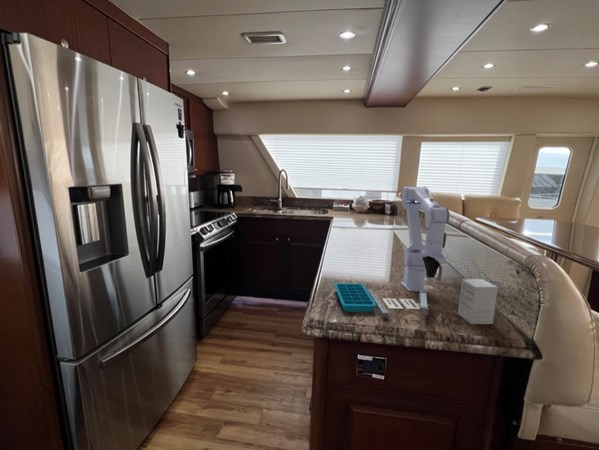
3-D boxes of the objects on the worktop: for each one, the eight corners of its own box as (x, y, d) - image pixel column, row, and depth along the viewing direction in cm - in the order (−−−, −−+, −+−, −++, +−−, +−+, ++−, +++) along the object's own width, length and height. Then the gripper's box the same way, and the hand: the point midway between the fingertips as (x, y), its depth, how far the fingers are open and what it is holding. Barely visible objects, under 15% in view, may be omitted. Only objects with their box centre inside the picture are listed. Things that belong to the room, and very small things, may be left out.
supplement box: (477, 313, 96) (482, 278, 94) (493, 324, 89) (499, 287, 87) (456, 313, 96) (461, 278, 94) (470, 324, 89) (475, 286, 87)
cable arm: (418, 301, 104) (419, 289, 103) (426, 302, 103) (427, 290, 102) (418, 321, 89) (419, 307, 88) (427, 322, 88) (428, 309, 87)
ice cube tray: (342, 313, 94) (342, 305, 94) (333, 290, 114) (333, 283, 114) (376, 314, 95) (377, 305, 94) (361, 290, 115) (362, 283, 114)
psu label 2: (399, 299, 106) (399, 298, 106) (412, 299, 106) (412, 298, 106) (407, 309, 98) (407, 308, 98) (421, 309, 98) (421, 308, 98)
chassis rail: (366, 293, 111) (367, 288, 110) (371, 293, 111) (372, 288, 110) (382, 318, 91) (382, 312, 91) (388, 318, 91) (388, 312, 91)
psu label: (382, 299, 106) (382, 298, 106) (395, 299, 106) (395, 298, 106) (388, 308, 98) (389, 307, 98) (403, 309, 98) (403, 308, 98)
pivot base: (412, 301, 105) (412, 300, 104) (425, 301, 105) (425, 301, 105) (418, 307, 100) (418, 306, 100) (432, 307, 100) (432, 307, 100)
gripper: (414, 236, 107) (411, 270, 110) (433, 245, 93) (428, 284, 95) (432, 237, 108) (429, 270, 110) (454, 245, 93) (449, 284, 95)
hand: (430, 277), depth 102 cm, fingers closed
